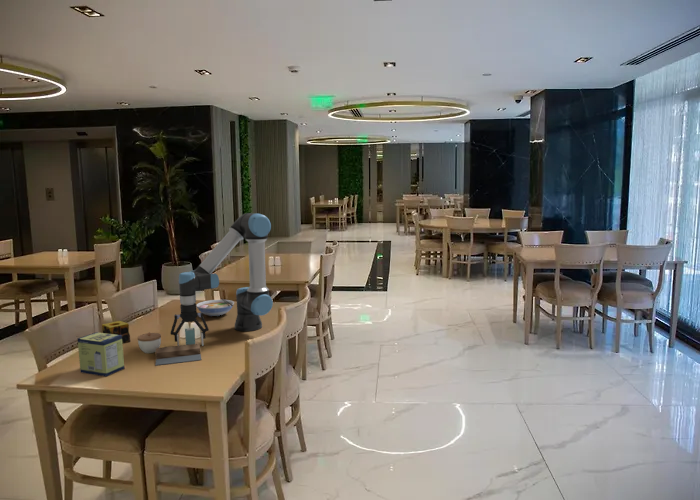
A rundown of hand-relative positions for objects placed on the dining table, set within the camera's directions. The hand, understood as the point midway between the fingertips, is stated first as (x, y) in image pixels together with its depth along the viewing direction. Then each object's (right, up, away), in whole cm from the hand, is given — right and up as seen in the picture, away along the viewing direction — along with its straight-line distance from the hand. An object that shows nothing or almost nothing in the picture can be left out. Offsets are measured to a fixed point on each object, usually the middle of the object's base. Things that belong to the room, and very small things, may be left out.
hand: (190, 346), depth 264 cm
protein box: (-29, -5, -32) cm, 43 cm away
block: (0, 0, 0) cm, 0 cm away
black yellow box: (-41, 0, +9) cm, 42 cm away
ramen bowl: (-3, +8, +62) cm, 62 cm away
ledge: (-2, -2, -11) cm, 12 cm away
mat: (0, -3, -20) cm, 20 cm away
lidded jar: (-18, -2, -6) cm, 19 cm away
